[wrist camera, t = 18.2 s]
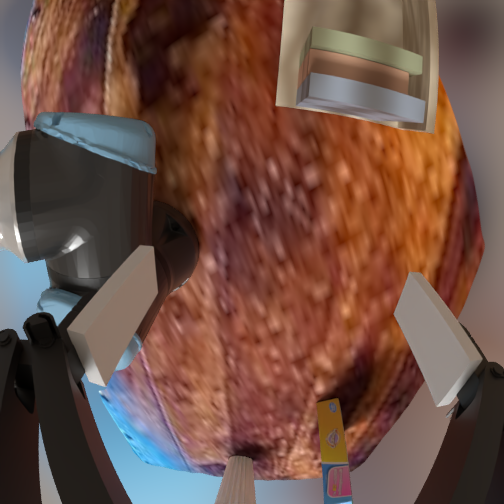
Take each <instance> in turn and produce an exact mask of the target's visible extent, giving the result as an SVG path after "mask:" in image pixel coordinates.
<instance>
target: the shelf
mask: <svg viewBox="0 0 504 504" xmlns="http://www.w3.org/2000/svg"><path fill="white" fill-rule="evenodd" d="M436 13H437V12H436V2H435V0H285V1H284V13H283V26H282V38H281V50H280V62H279V73H278V84H277V96H276V106H281V107H290V108H298V109H305V110H312V111H319V112H325V113H331V114H336V115H342V116H347V117H352V118H357V119H361V120H366V121H370V122H374V123H379V124H383V125H387V126H390V127H394V128H398V129H402V130H411V131H418V132H426V133H433V134H434V128H435V119H436V108H437V95H438V71H439V50H438V49H439V46H438V25H437V14H436Z"/></svg>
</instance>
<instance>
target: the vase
mask: <svg viewBox="0 0 504 504" xmlns="http://www.w3.org/2000/svg"><path fill="white" fill-rule="evenodd" d="M215 504H256V500H255V487H254V475H253V462H252V459H251V458H249V457H246V456H244V457H243V456H232V457H230V458H229V459H228V463H227V466H226V469H225V472H224V476H223V479H222V482H221V485H220V489H219V492H218V495H217V498H216V501H215Z"/></svg>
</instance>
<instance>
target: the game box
mask: <svg viewBox="0 0 504 504" xmlns="http://www.w3.org/2000/svg"><path fill="white" fill-rule="evenodd" d="M316 404H317V413H318V423H319V434H320V447H321V460H322V473H323V490H324V504H353V500H352V491H351V482H350V472H349V464H348V456H347V448H346V441H345V434H344V427H343V421H342V414H341V408H340V402H339V399H338V398H335V399H331V400H326V401H322V402H318V403H316Z"/></svg>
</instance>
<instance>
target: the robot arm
mask: <svg viewBox="0 0 504 504" xmlns="http://www.w3.org/2000/svg"><path fill="white" fill-rule="evenodd" d="M34 127H36V129H33V130H27V131H21V132H16V134H15V135H14V136H13V138H12V139H11V140H10V141H9V143H8V144H7V145H6V147H5V148H4V149H3V150H2V151H1V152H0V251H3V250H8V251H11V252H13V253H14V254H15V255H16V256H17V257H18V258H20V259H21V260H22V261H23V262H24V263H29V262H34V261H38V260H43V259H45V261H46V266H47V270H48V276H49V279H50V288H49V289H46V290H45V291H44V292H42V294H41V298H40V300H39V302H38V304H37V313H36V314H33V315H32V316H30V317H29V318H27V320H26V321H25V322H24V325H23V329H24V331H25V334H26V336H27V338H28V340H20V339H19V337H18V335H17V333H16V331H15V330H13V329H5V330H2V331H0V504H42V501H41V492H40V481H39V456H38V455H39V451H38V446H39V445H38V443H39V423H40V429H41V433H42V438H43V443H44V447H45V451H46V455H47V458H48V462H49V466H50V469H51V472H52V476H53V479H54V482H55V485H56V488H57V490H58V493H59V496H60V499H61V501H62V504H132V502H131V500H130V498H129V497H128V495H127V493H126V491H125V489H124V487H123V485H122V483H121V481H120V479H119V477H118V475H117V473H116V471H115V469H114V467H113V464H112V462H111V460H110V458H109V455H108V453H107V451H106V449H105V446H104V443H103V441H102V438H101V436H100V433H99V431H98V428H97V425H96V422H95V419H94V417H93V414H92V411H91V408H90V404H89V401H88V398H87V395H86V391H85V388H84V384H83V382H82V381H81V378H82V377H83V375H84V373H86V375H87V377H88V379H89V381H90V382H92V383H95V384H98V385H101V386H104V387H106V386H107V384H108V382H109V380H110V378H111V376H112V374H113V372H115V371H118V370H122V369H125V368H126V367H128V366H129V365H130V364H131V362H132V361H133V359H134V358H135V356H136V355H137V353H138V352H139V351H140V350H141V348H142V344H143V342H144V340H145V338H146V336H147V334H148V332H149V330H150V328H151V326H152V324H153V322H154V320H155V318H156V316H157V314H158V312H159V310H160V308H161V306H162V304H163V302H164V301H165V299H166V297H167V296H168V295H169V294H170V293H171V292H173V291H175V290H177V289H179V288H180V287H182V286H183V285H184V284H185V283H186V282H187V281H188V280H189V278H190V277H191V275H192V273H193V271H194V269H195V267H196V265H197V262H198V257H199V245H198V240H197V237H196V234H195V232H194V230H193V228H192V226H191V224H190V223H189V221H188V220H187V219H186V218H185V217H184V216H183V215H182V214H181V213H180V212H179V211H178V210H176V209H175V208H173V207H171V206H170V205H167V204H165V203H162V202H159V201H153V195H154V180H155V174H157V168H156V167H155V147H156V136H155V132H154V130H153V128H152V127H151V126H150V125H149V124H148V123H146V122H144V121H141V120H137V119H131V118H124V117H117V116H108V115H99V114H86V113H65V112H41V113H40V114H39V115H38V116H37V118H36V120H35V122H34ZM394 316H395V318H396V320H397V322H398V324H399V326H400V328H401V329H402V331H403V333H404V336H405V338H406V340H407V342H408V344H409V346H410V348H411V350H412V352H413V354H414V356H415V358H416V361H417V363H418V365H419V367H420V369H421V372H422V374H423V376H424V378H425V381H426V383H427V385H428V388H429V390H430V393H431V395H432V397H433V400H434V402H435V405H436V407H438V406H443V405H448V404H450V403H451V401H452V400H453V399H454V398H455V396H456V395H457V397H458V399H459V401H458V402H457V404H456V405H455V406H454V407H453V408H452V409H451V410H450V412H449V413H448V414H447V415H446V417H447V418H448V416H449V415H450V414H452V413H453V414H452V417H451V420H450V423H449V426H448V429H447V432H446V435H445V437H444V440H443V443H442V446H441V448H440V451H439V453H438V455H437V458H436V460H435V463H434V465H433V467H432V469H431V472H430V474H429V476H428V478H427V480H426V482H425V484H424V486H423V488H422V490H421V492H420V494H419V496H418V498H417V500H416V501H415V503H414V504H504V369H503V367H502V366H500V365H499V364H498V363H496V362H488V361H487V359H486V358H485V356H484V354H483V353H482V351H481V350H480V348H479V347H478V345H477V344H476V343H475V341H474V339H473V338H472V337H471V335H470V333H469V332H468V330H467V329H466V328H465V327H464V326H463V325H462V324H461V323H459V322H458V321H457V319H456V318H455V317H454V315H453V314H452V312H451V311H450V310H449V308H448V307H447V306H446V304H445V303H444V302H443V300H442V299H441V298H440V296H439V295H438V294H437V293H436V291H435V290H434V289H433V287H432V286H431V285H430V284H429V282H428V281H427V280H426V279H425V277H424V276H423V275H422V274H421V273H417V272H409V275H408V278H407V281H406V283H405V286H404V289H403V291H402V294H401V297H400V299H399V302H398V304H397V307H396V309H395V312H394Z"/></svg>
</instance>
